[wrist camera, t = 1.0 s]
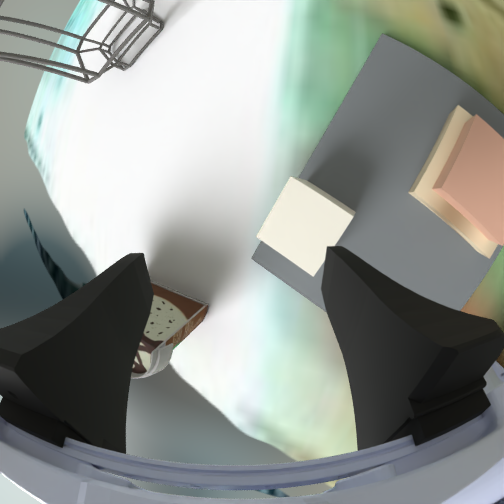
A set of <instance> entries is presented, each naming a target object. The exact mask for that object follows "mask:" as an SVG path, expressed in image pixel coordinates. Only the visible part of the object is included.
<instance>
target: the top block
mask: <svg viewBox="0 0 504 504" xmlns="http://www.w3.org/2000/svg"><path fill="white" fill-rule="evenodd" d="M355 213H356V212H355V211H353V210H352V209H350V208H349V207H347V206H346V205H344V204H343V203H341V202H340V201H338V200H337V199H335V198H334V197H332V196H331V195H329V194H328V193H326V192H325V191H323V190H321V189H320V188H318V187H317V186H315V185H313V184H312V183H310V182H309V181H307V180H304V179H300V178H296V177H292V176H290V178H289V180H288V182H287V183H286V185H285V187H284V189H283V190H282V192H281V194H280V196H279V197H278V199H277V201H276V202H275V204H274V206H273V208H272V209H271V211H270V213H269V215H268V216H267V218H266V220H265V222H264V223H263V225H262V227H261V229H260V230H259V232H258V234H257V236H256V237H257V238H259V239H260V240H261V241H263V242H264V243H266V244H267V245H269V246H270V247H272V248H273V249H274V250H276V251H277V252H279V253H280V254H282V255H283V256H284V257H286V258H287V259H289V260H290V261H292V262H293V263H294V264H296V265H297V266H299V267H300V268H301V269H303V270H304V271H306V272H307V273H309V274H310V275H311V276H313V277H314V275H315V274H316V272H317V271H318V269H319V268H320V267H321V265H322V264H323V262H324V261H325V256H326V249H327V246H335V245H336V243H337V242H338V240H339V239H340V237H341V236H342V234H343V232H344V231H345V229H346V228H347V226H348V225H349V223H350V222H351V220H352V219H353V217H354V215H355Z"/></svg>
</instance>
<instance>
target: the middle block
mask: <svg viewBox="0 0 504 504" xmlns="http://www.w3.org/2000/svg"><path fill="white" fill-rule="evenodd" d="M432 190H434V191H435V192H436V193H437V194H439V195H440V196H441V197H442V198H443V199H445V200H446V201H447V202H448V203H449V204H451V205H452V206H453V207H454V208H455V209H456V210H457V211H459V212H460V213H461V214H462V215H463V216H464V217H465V218H466V219H467V220H469V221H470V222H471V223H472V224H473V225H474V226H475V227H476V228H477V229H478V230H479V231H480V232H481V233H482V234H483V235H484V236H485V237H486V238H487V239H488V240H490V241H492V242H495V243H497V244H499V245H501V246H503V245H504V139H503V138H502V137H501V136H500V135H499V134H498V133H497V132H496V131H495V130H494V129H493V128H492V127H491V126H490V125H488V124H487V123H486V122H485V121H484V120H483V119H482V118H480V117H479V116H478V115H477V114H476V115H475V116H473V117H472V118H471V119H469V120H468V121H467V122H465V124H464V126H463V128H462V130H461V133H460V135H459V137H458V139H457V141H456V143H455V145H454V147H453V150H452V152H451V154H450V156H449V158H448V160H447V162H446V164H445V165H444V167H443V169H442V171H441V173H440V175H439V177H438V179H437V180H436V182H435V184H434V186H433V188H432Z"/></svg>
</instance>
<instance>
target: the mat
mask: <svg viewBox="0 0 504 504" xmlns="http://www.w3.org/2000/svg"><path fill="white" fill-rule="evenodd" d="M458 105H459V106H460V107H462V108H463V109H464V110H466V111H467V112H468V113H469V114H471V115H472V116H475V115H476V114H477V115H478V116H479V117H480V118H482V119H483V120H484V121H485V122H486V123H487V124H488V125H490V126H491V127H492V128H493V129H494V130H495V131H496V132H497V133H498V134H499V135H500V136H501V137H502V138H503V139H504V114H503V113H501V112H500V111H499V110H498V109H497V108H496V107H495V106H494V105H493V104H491V103H490V102H489V101H488V100H487V99H486V98H484V97H483V96H482V95H481V94H480V93H478V92H477V91H476V90H475V89H473V88H472V87H471V86H469V85H468V84H467V83H465V82H464V81H463V80H461V79H460V78H459V77H457V76H456V75H454V74H453V73H451V72H450V71H449V70H447V69H446V68H444V67H442V66H441V65H439V64H438V63H436V62H435V61H433V60H431V59H430V58H428V57H426V56H425V55H423V54H421V53H420V52H418V51H416V50H414V49H412V48H411V47H409V46H407V45H405V44H403V43H401V42H399V41H397V40H395V39H393V38H391V37H389V36H387V35H385V34H381V36H380V38H379V40H378V41H377V43H376V45H375V47H374V48H373V50H372V52H371V54H370V55H369V57H368V59H367V60H366V62H365V64H364V66H363V67H362V69H361V71H360V73H359V74H358V76H357V78H356V79H355V81H354V83H353V85H352V86H351V88H350V90H349V92H348V93H347V95H346V97H345V98H344V100H343V102H342V104H341V105H340V107H339V109H338V111H337V112H336V114H335V116H334V117H333V119H332V121H331V123H330V124H329V126H328V128H327V129H326V131H325V133H324V135H323V136H322V138H321V140H320V142H319V143H318V145H317V147H316V148H315V150H314V152H313V154H312V155H311V157H310V159H309V160H308V162H307V164H306V166H305V167H304V169H303V171H302V172H301V174H300V176H299V178H300V179H304V180H307V181H309V182H310V183H312V184H313V185H315V186H317V187H318V188H320V189H321V190H323V191H325V192H326V193H328V194H329V195H331V196H332V197H334V198H335V199H337V200H338V201H340V202H341V203H343V204H344V205H346V206H347V207H349V208H350V209H352V210H353V211H355V212H356V213H355V215H354V217H353V219H352V220H351V222H350V223H349V225H348V226H347V228H346V229H345V231H344V232H343V234H342V236H341V237H340V239H339V240H338V242H337V243H336V245H335V246H343V247H344V248H346V249H348V250H349V251H351V252H352V253H354V254H355V255H357V256H358V257H360V258H361V259H362V260H364V261H365V262H367V263H368V264H370V265H371V266H373V267H374V268H375V269H377V270H378V271H380V272H381V273H383V274H384V275H386V276H388V277H389V278H391V279H392V280H394V281H396V282H397V283H399V284H401V285H402V286H404V287H406V288H408V289H410V290H412V291H413V292H415V293H417V294H419V295H421V296H423V297H425V298H428V299H430V300H432V301H435V302H437V303H439V304H442V305H444V306H447V307H449V308H452V309H455V310H458V311H460V310H461V309H462V308H463V306H464V305H465V304H466V302H467V301H468V300H469V298H470V297H471V295H472V294H473V293H474V291H475V290H476V288H477V287H478V285H479V284H480V283H481V281H482V280H483V278H484V277H485V275H486V274H487V272H488V270H489V269H490V267H491V266H492V264H493V262H494V261H495V259H496V257H497V256H498V254H499V252H500V251H501V249H502V247H503V246H501V245H499V244H498V245H497V247H496V249H495V250H494V252H493V254H492V256H491V257H490V259H489V258H487V257H485V256H484V255H482V254H480V253H479V252H477V251H476V250H475V249H474V248H473V247H472V246H471V245H470V244H469V243H468V242H467V241H466V240H465V239H464V238H462V237H461V236H460V235H459V234H458V233H457V232H456V231H455V230H454V229H452V228H451V227H450V226H449V225H448V224H447V223H446V222H444V221H443V220H442V219H441V218H440V217H438V216H437V215H436V214H435V213H434V212H432V211H431V210H430V209H429V208H427V207H426V206H425V205H424V204H422V203H421V202H420V201H418V200H417V199H416V198H415V197H413V196H412V195H411V194H409V193H408V192H409V190H410V188H411V187H412V185H413V183H414V182H415V180H416V178H417V176H418V174H419V173H420V171H421V169H422V167H423V165H424V164H425V162H426V160H427V158H428V156H429V154H430V152H431V150H432V149H433V147H434V145H435V143H436V141H437V139H438V137H439V135H440V133H441V131H442V128H443V126H444V124H445V122H446V120H447V118H448V116H449V114H450V113H451V112H452V111H453V110H454V109H455V108H456V107H457V106H458ZM251 259H253V260H254V261H255V262H257V263H258V264H260V265H261V266H262V267H264V268H265V269H266V270H268V271H269V272H271V273H272V274H273V275H275V276H276V277H278V278H279V279H280V280H282V281H283V282H285V283H286V284H287V285H289V286H290V287H292V288H293V289H294V290H296V291H297V292H299V293H300V294H301V295H303V296H304V297H306V298H307V299H308V300H310V301H311V302H313V303H314V304H315V305H317V306H318V307H320V308H321V309H323V310H324V311H325V312H327V311H326V308H325V304H324V300H323V296H322V291H321V284H322V278H323V271H324V264H325V261H324V262H323V264H322V265H321V267H320V268H319V269H318V271H317V272H316V274H315V275H314V277H313V276H311V275H310V274H309V273H307V272H306V271H304V270H303V269H301V268H300V267H299V266H297V265H296V264H294V263H293V262H292V261H290V260H289V259H287V258H286V257H284V256H283V255H282V254H280V253H279V252H277V251H276V250H274V249H273V248H272V247H270V246H269V245H267V244H266V243H264V242H263V241H261V243H260V244H259V246H258V248H257V249H256V251H255V253H254V255H253V256H252V258H251Z"/></svg>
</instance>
